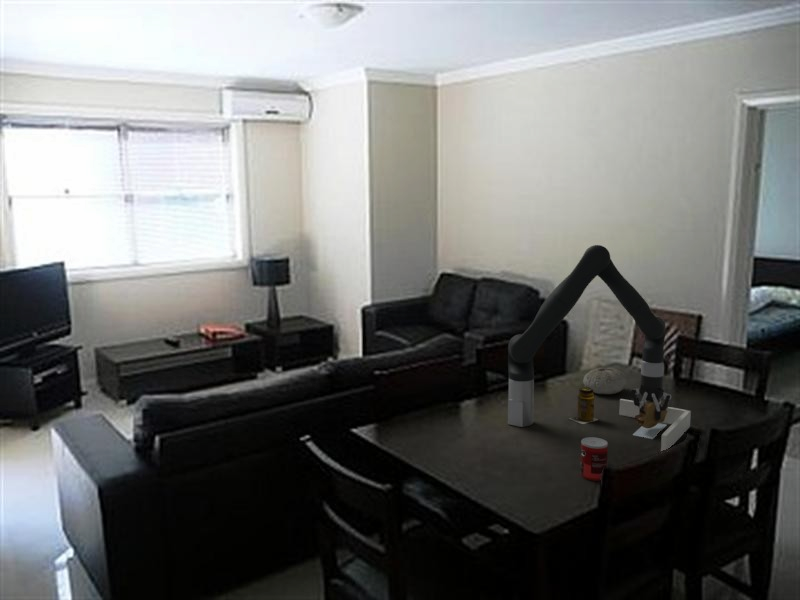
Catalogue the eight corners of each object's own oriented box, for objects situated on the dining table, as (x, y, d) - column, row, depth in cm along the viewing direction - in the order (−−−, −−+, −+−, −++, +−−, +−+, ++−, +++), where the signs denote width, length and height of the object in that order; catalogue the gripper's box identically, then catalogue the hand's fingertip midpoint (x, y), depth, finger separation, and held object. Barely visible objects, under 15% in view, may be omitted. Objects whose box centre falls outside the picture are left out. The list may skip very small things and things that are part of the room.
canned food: (586, 468, 217) (587, 435, 215) (611, 474, 212) (612, 440, 210) (575, 476, 211) (576, 442, 209) (600, 483, 206) (601, 448, 204)
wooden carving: (656, 419, 255) (657, 393, 253) (667, 423, 251) (669, 396, 250) (631, 430, 244) (632, 403, 243) (643, 434, 241) (644, 406, 239)
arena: (665, 453, 227) (666, 435, 226) (590, 437, 242) (591, 421, 241) (690, 426, 251) (690, 410, 250) (620, 413, 266) (621, 398, 265)
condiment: (598, 420, 260) (599, 389, 258) (583, 424, 255) (584, 393, 253) (583, 414, 266) (584, 384, 264) (568, 419, 261) (569, 388, 259)
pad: (652, 439, 239) (652, 438, 239) (632, 435, 243) (632, 434, 243) (667, 425, 253) (667, 424, 253) (647, 421, 257) (647, 420, 257)
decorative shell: (575, 388, 300) (575, 365, 298) (610, 383, 305) (611, 361, 303) (598, 400, 283) (599, 376, 281) (635, 395, 288) (636, 372, 286)
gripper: (628, 372, 246) (626, 418, 249) (669, 378, 237) (667, 426, 240) (635, 367, 252) (633, 412, 255) (676, 373, 243) (673, 420, 246)
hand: (650, 418), depth 247 cm, fingers closed on wooden carving, 4 cm apart
